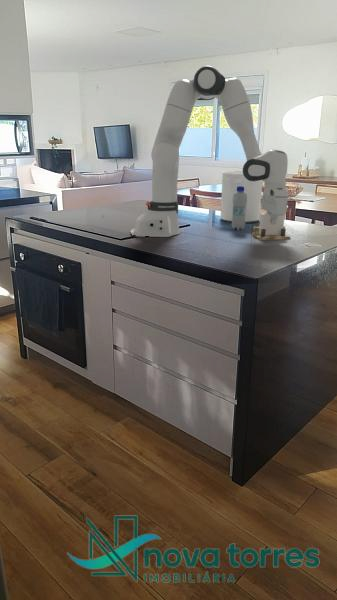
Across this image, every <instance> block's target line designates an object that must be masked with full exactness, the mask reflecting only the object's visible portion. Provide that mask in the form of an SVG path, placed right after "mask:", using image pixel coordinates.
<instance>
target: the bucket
mask: <svg viewBox="0 0 337 600" xmlns="http://www.w3.org/2000/svg"><path fill="white" fill-rule="evenodd" d="M220 173H221V175H222V180H221V201H220V203H221V204H220V220H221V221H222V222H226V223H231V224H232V217H233V196H234V193H235V192H237V187H238V186H243V187H244V191H243V192H245V193H246V194H247V204H246V213H245V224H255V223H257V222H260V213H261V203H262V189H263V180H259V181H255V182H253V181H249V180H247V179H246V178H245V177H244V175H243V170H224V171H221V172H220Z"/></svg>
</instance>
